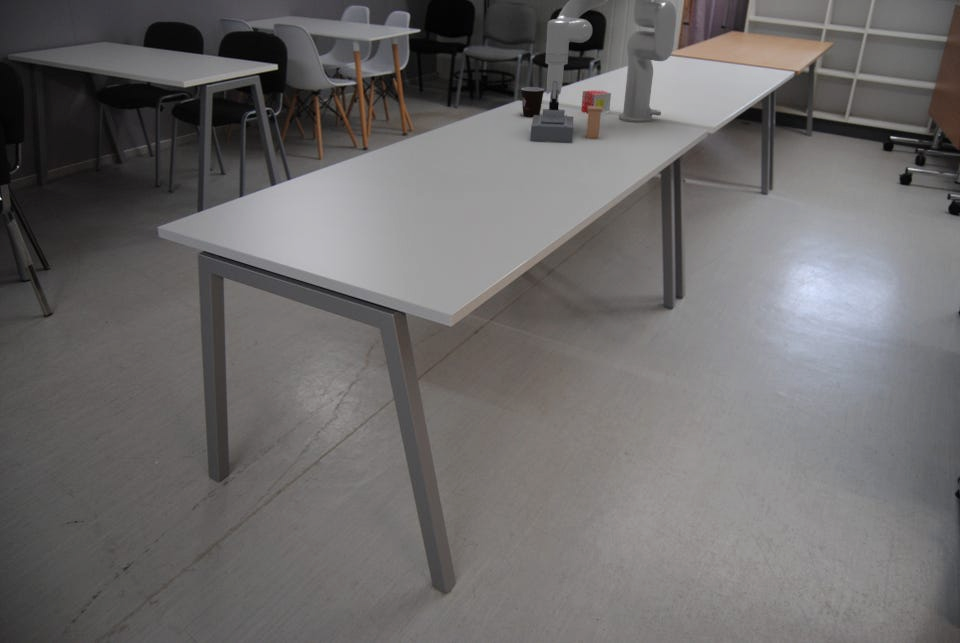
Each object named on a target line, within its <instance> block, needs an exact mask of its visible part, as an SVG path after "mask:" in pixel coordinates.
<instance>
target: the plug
mask: <svg viewBox="0 0 960 643" xmlns="http://www.w3.org/2000/svg"><path fill="white" fill-rule="evenodd" d="M601 112H602V106H588V113H587V115H588V116H587V125H586V126H587V128H586V138H587V139H599V135H600V126H601V115H602V114H601Z"/></svg>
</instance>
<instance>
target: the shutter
mask: <svg viewBox="0 0 960 643" xmlns="http://www.w3.org/2000/svg"><path fill="white" fill-rule="evenodd" d="M565 112H566V111H565V109H559V108H558V109H549V108H542V113H541V114H542V122H548V123H564V116H565V115H566V114H565Z"/></svg>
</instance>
